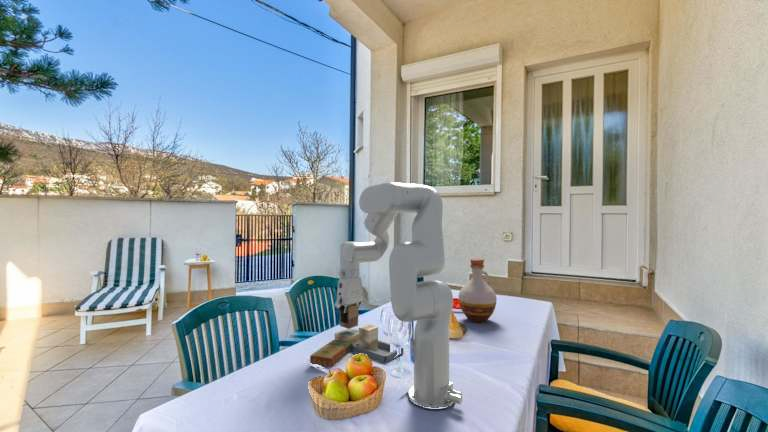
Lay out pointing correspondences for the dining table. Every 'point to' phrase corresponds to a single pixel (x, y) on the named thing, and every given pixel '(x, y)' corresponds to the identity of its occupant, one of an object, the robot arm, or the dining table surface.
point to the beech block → (368, 337)
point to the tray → (377, 351)
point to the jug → (477, 294)
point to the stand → (348, 335)
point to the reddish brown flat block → (331, 353)
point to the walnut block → (351, 316)
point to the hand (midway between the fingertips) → (349, 320)
